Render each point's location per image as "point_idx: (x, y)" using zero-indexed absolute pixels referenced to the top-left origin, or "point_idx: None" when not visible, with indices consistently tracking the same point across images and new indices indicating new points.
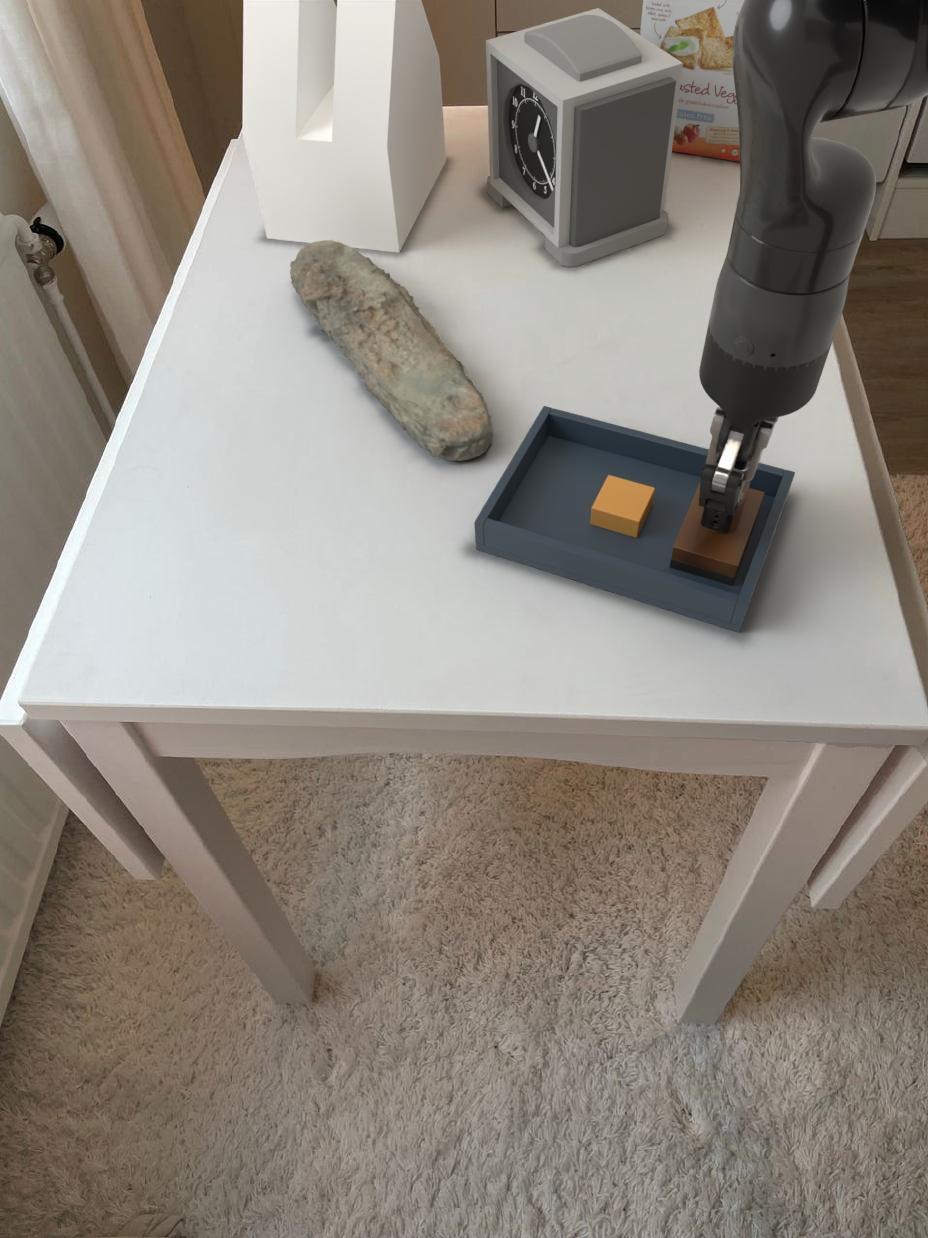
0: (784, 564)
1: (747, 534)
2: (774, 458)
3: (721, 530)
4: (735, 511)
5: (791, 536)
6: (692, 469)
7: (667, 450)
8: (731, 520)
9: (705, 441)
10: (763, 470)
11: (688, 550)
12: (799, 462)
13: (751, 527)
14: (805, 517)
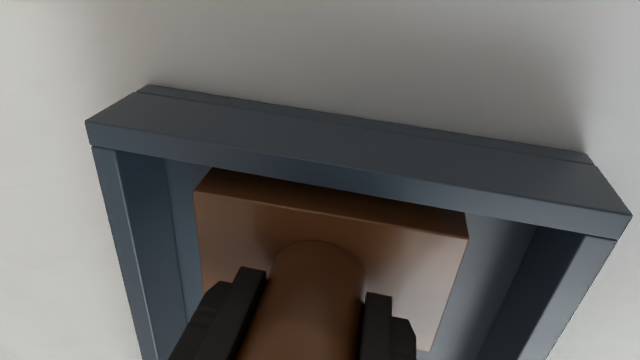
0: (341, 68)
1: (352, 222)
2: (48, 117)
3: (413, 333)
4: (367, 346)
5: (247, 60)
6: (173, 277)
7: (163, 338)
8: (390, 337)
9: (85, 236)
10: (123, 193)
11: (436, 330)
12: (26, 64)
13: (324, 214)
14: (175, 32)
